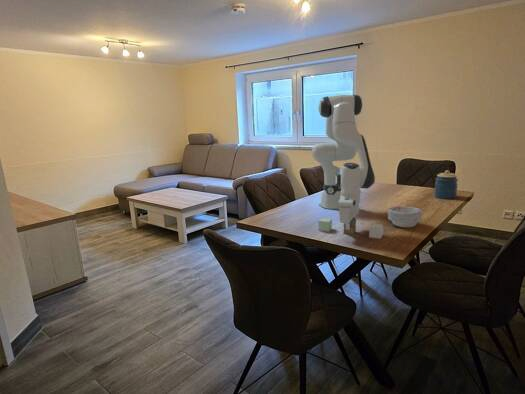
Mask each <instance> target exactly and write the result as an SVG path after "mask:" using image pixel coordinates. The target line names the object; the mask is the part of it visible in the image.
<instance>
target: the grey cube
mask: <svg viewBox="0 0 525 394" xmlns="http://www.w3.org/2000/svg"><path fill="white" fill-rule="evenodd" d="M368 232H369V233H368V237H369V238H370V239H371V238H373V239H378V240H379V239H380V240H381V239H382V237H383V235H384V224H378V223H371V224H370V225H369V231H368Z"/></svg>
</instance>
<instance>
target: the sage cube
mask: <svg viewBox="0 0 525 394" xmlns="http://www.w3.org/2000/svg"><path fill="white" fill-rule="evenodd" d="M332 225H333V219H331V218H327V217H326V218H325V217H322V218H320V219H319V220H318V231H320V232H326V233H328V232H330V231H331V230H332V229H333V226H332Z"/></svg>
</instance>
